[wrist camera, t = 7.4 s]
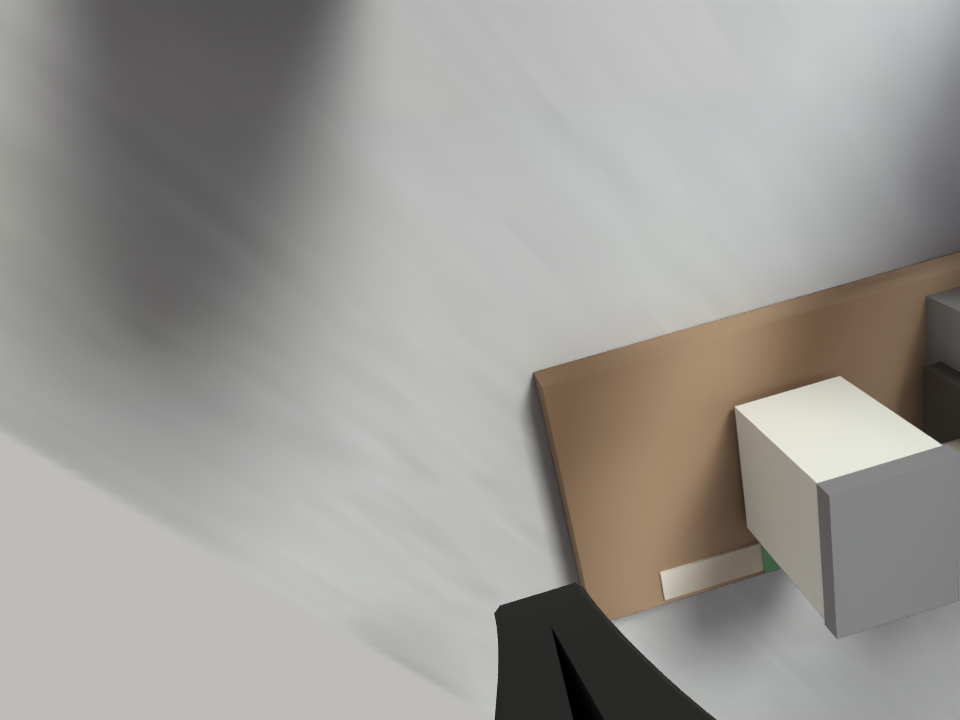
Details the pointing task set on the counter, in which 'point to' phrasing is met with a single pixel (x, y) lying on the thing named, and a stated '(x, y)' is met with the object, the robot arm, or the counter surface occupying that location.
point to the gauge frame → (729, 424)
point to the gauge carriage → (851, 503)
